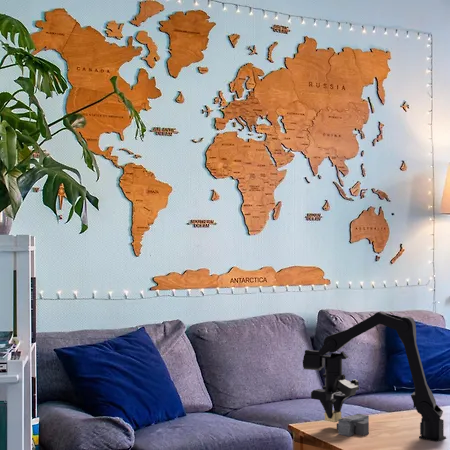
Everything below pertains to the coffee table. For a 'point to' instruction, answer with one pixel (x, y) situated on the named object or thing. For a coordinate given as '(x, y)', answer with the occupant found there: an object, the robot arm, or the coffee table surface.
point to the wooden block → (333, 416)
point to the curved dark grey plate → (350, 424)
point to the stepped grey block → (361, 428)
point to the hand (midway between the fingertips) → (333, 417)
